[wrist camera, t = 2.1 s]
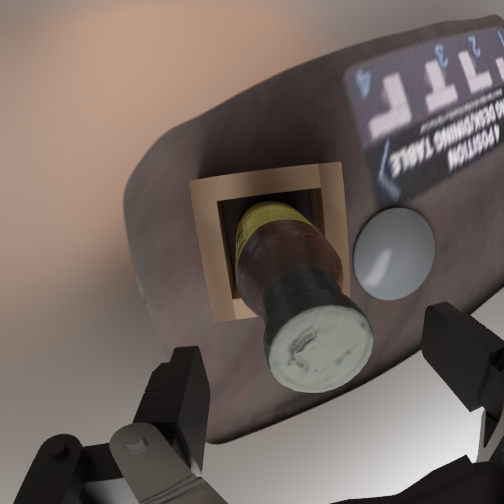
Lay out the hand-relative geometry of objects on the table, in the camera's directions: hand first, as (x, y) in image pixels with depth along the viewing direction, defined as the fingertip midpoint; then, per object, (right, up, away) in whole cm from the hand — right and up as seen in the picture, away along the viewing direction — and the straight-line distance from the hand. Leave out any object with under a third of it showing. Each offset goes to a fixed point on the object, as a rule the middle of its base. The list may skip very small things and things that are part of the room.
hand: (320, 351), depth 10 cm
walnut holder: (-1, +5, +20) cm, 20 cm away
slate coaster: (+13, +3, +21) cm, 24 cm away
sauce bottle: (-1, +5, +20) cm, 21 cm away
